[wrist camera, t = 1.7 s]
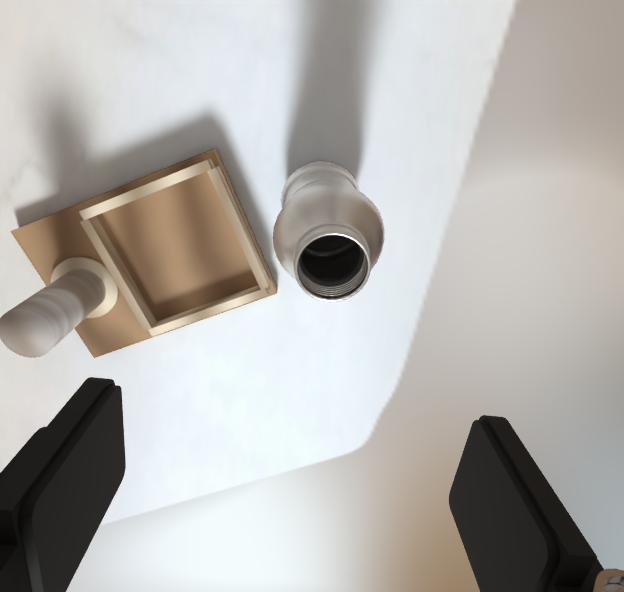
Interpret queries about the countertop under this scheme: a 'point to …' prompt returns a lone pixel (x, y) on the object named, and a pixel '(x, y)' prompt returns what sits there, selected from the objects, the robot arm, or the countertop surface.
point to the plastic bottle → (327, 232)
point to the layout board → (139, 262)
